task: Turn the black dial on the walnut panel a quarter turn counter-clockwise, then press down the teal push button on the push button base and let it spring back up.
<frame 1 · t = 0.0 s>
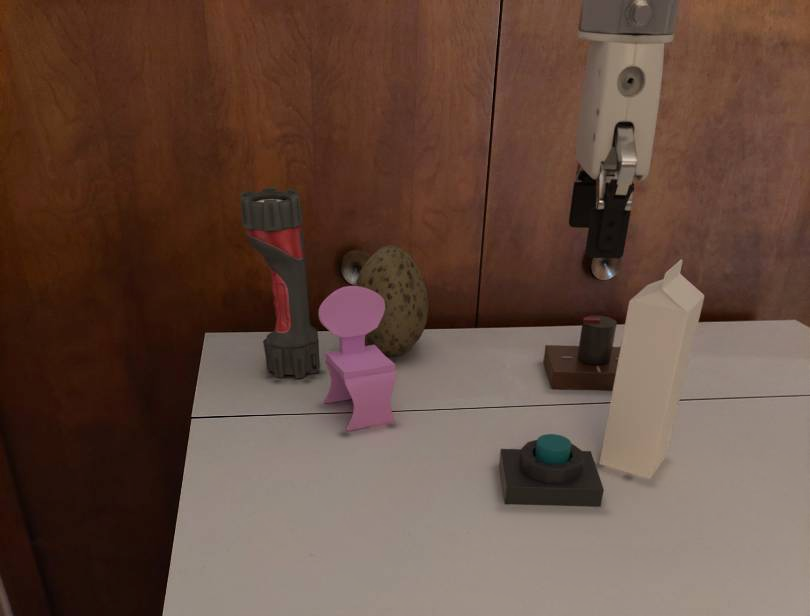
hand: (593, 241, 73), 25 cm above the table, tool pointing down, fingers open, 9 cm apart
milk: (632, 462, 91), on the table
decorative egg: (389, 354, 115), on the table
toy chair: (359, 414, 100), on the table
dial panel: (590, 375, 110), on the table
push button base: (547, 485, 87), on the table
teal push button: (553, 449, 84), point 4 cm above the table, slide at 0.1 cm
dial: (596, 339, 107), point 5 cm above the table, hinge at 0.0°
flashlight: (285, 372, 110), on the table
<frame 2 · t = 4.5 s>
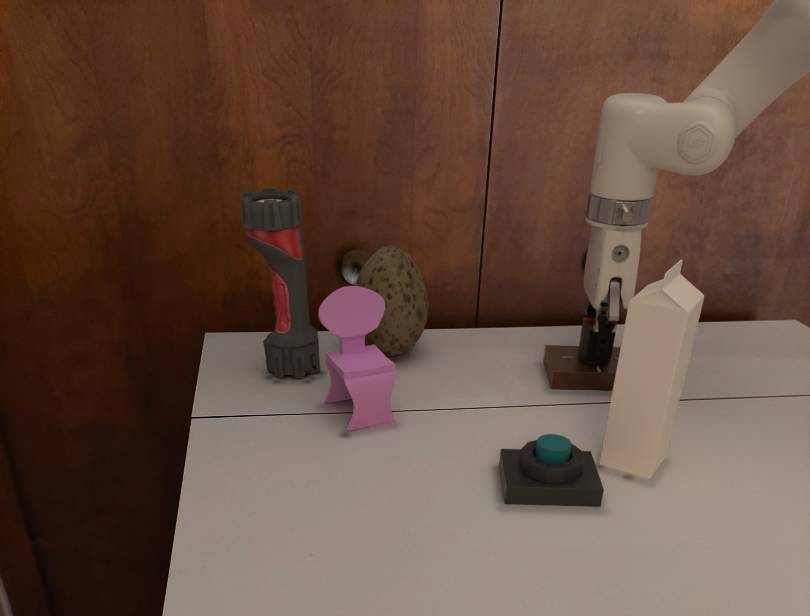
hand: (594, 350, 108), 4 cm above the table, tool pointing down, fingers closed on dial, 4 cm apart
dial: (596, 339, 107), point 5 cm above the table, hinge at -0.1°, touching gripper
everything else where it was.
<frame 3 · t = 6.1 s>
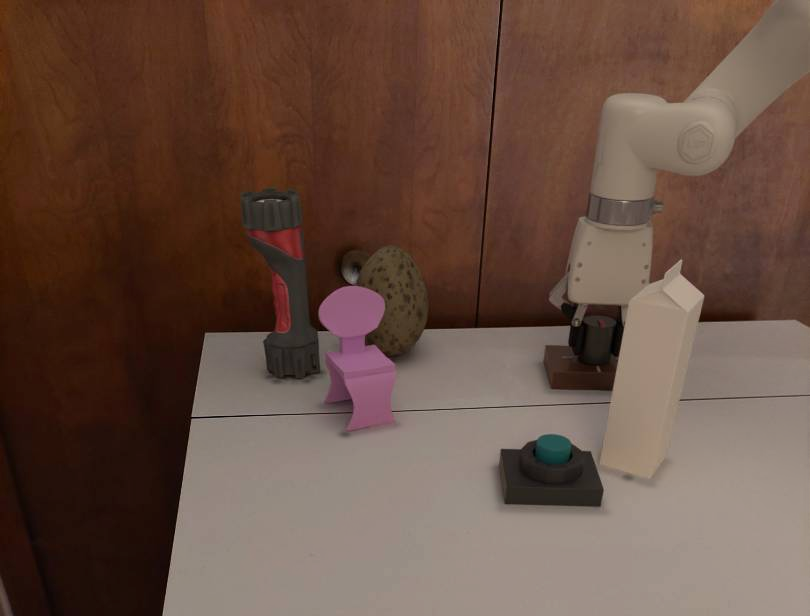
hand: (594, 350, 108), 4 cm above the table, tool pointing down, fingers closed on dial, 4 cm apart
dial: (596, 339, 107), point 5 cm above the table, hinge at 90.5°, touching gripper
everything else where it was.
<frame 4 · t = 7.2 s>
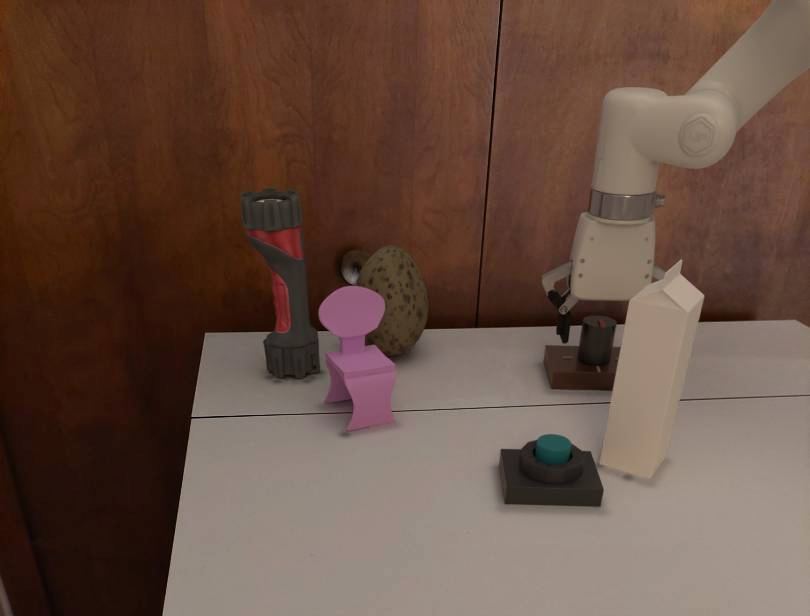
hand: (599, 340, 107), 5 cm above the table, tool pointing down, fingers open, 9 cm apart
dial: (596, 339, 107), point 5 cm above the table, hinge at 90.9°
everything else where it was.
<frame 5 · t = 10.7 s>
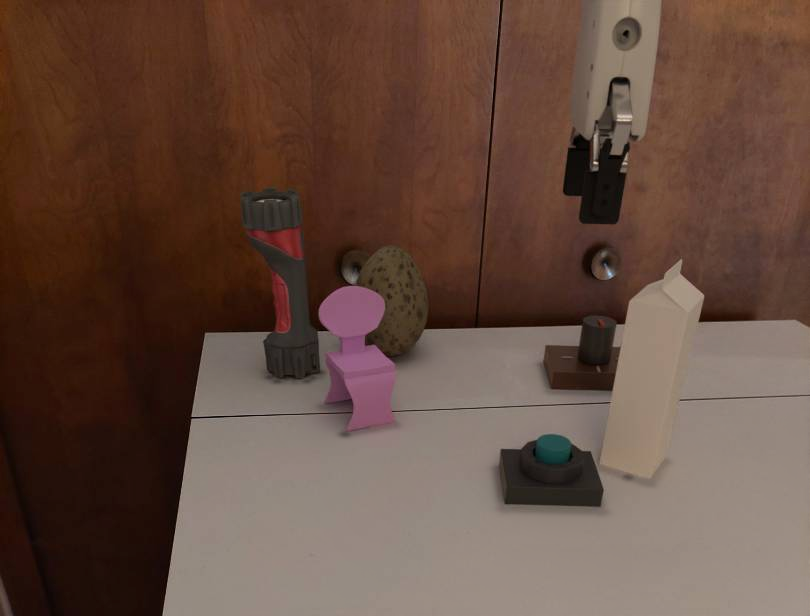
hand: (588, 208, 70), 28 cm above the table, tool pointing down, fingers open, 9 cm apart
nothing on the table moved.
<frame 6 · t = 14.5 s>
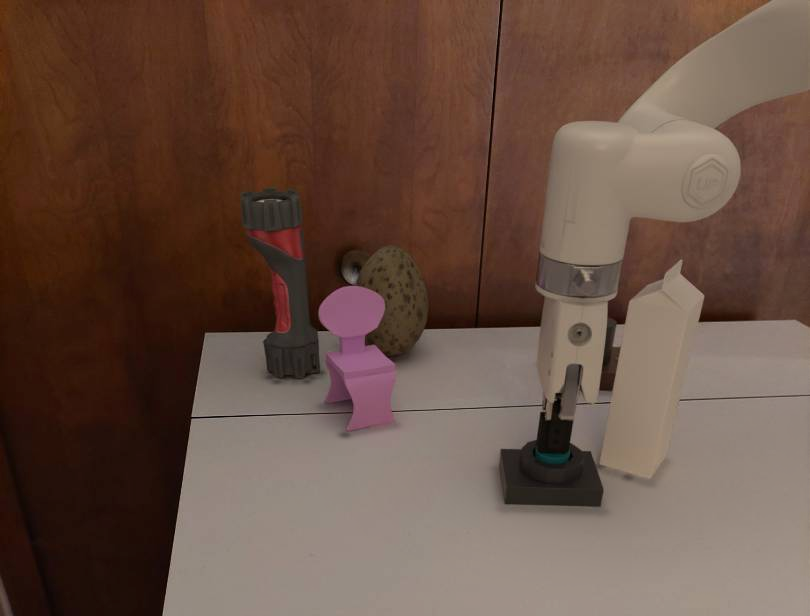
hand: (551, 449, 84), 4 cm above the table, tool pointing down, fingers closed
teal push button: (551, 457, 85), point 4 cm above the table, slide at -0.8 cm, touching gripper
everything else where it was.
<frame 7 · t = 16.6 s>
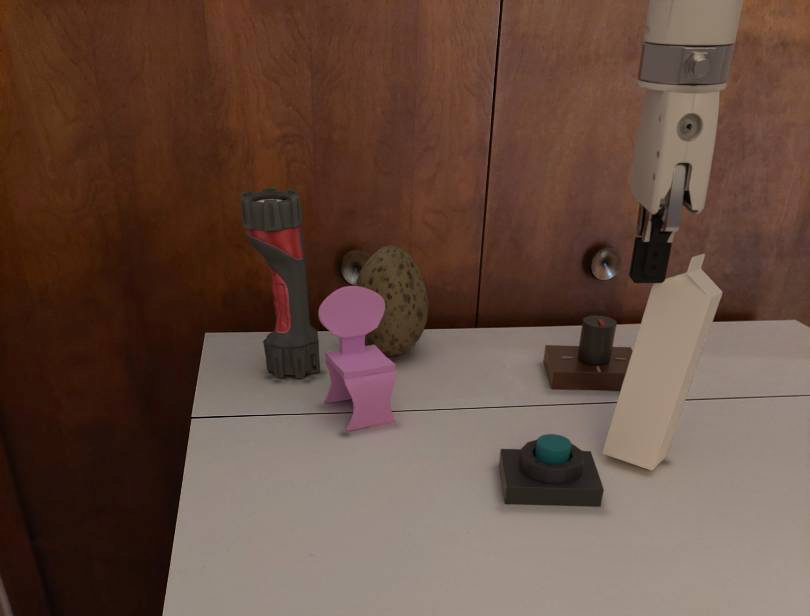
hand: (646, 280, 80), 20 cm above the table, tool pointing down, fingers closed
teal push button: (553, 449, 84), point 4 cm above the table, slide at 0.1 cm
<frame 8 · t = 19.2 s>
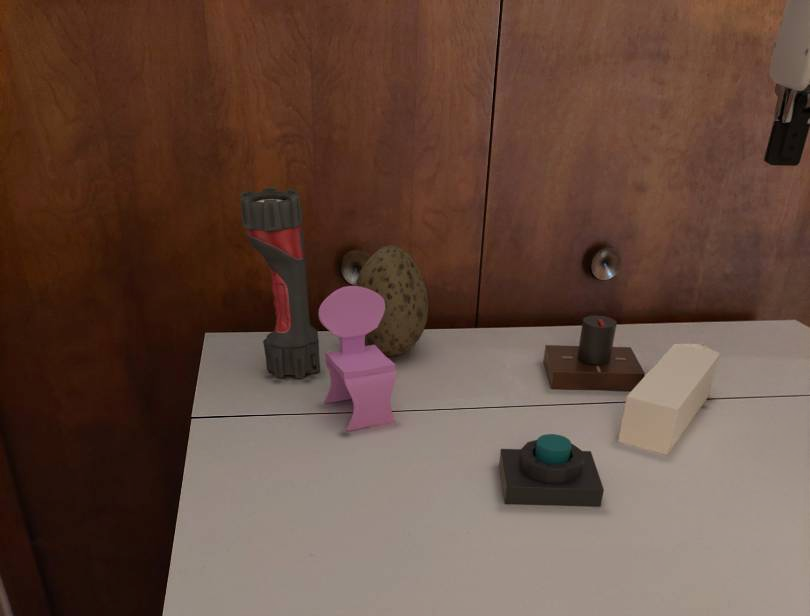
hand: (780, 163, 85), 29 cm above the table, tool pointing down, fingers closed
milk: (646, 426, 92), point 3 cm above the table
everything else where it was.
at the end: dial at +91° (first picture: +0°); teal push button pushed in 1.1 cm at the most during the clip, back to where it started at the end; teal push button slide at 0.1 cm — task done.
